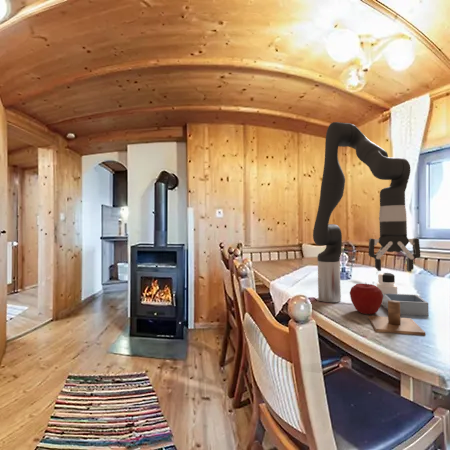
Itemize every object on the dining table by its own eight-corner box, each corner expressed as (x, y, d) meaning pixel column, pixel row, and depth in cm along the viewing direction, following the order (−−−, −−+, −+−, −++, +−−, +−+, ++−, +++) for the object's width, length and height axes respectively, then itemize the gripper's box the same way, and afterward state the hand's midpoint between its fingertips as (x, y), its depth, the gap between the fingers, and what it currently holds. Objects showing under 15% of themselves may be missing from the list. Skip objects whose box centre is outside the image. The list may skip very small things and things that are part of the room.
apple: (344, 312, 111) (343, 281, 111) (364, 308, 115) (363, 278, 115) (368, 320, 101) (367, 286, 100) (390, 316, 105) (389, 283, 105)
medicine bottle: (395, 300, 125) (395, 272, 125) (397, 304, 119) (396, 275, 119) (376, 298, 128) (376, 271, 128) (377, 303, 122) (377, 274, 122)
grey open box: (390, 314, 106) (390, 301, 106) (382, 305, 117) (382, 293, 117) (428, 317, 102) (428, 302, 102) (416, 307, 114) (416, 294, 114)
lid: (376, 331, 89) (375, 306, 89) (368, 318, 101) (367, 295, 101) (425, 335, 85) (424, 308, 85) (411, 320, 97) (410, 297, 97)
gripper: (370, 220, 92) (371, 272, 92) (422, 219, 88) (424, 273, 88) (366, 220, 99) (367, 268, 99) (414, 219, 95) (415, 269, 95)
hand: (394, 270), depth 93 cm, fingers open, 8 cm apart
